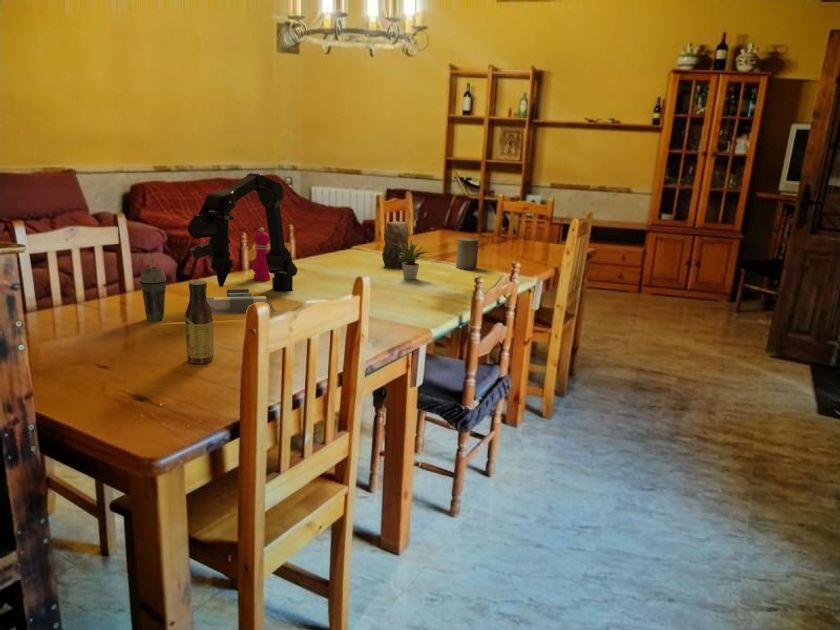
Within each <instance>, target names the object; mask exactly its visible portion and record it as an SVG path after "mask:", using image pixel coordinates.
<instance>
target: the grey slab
mask: <svg viewBox="0 0 840 630" xmlns="http://www.w3.org/2000/svg"><path fill="white" fill-rule="evenodd" d="M250 296H252V293H251V292H250V289H249V288H226V297H249V298H230V309H214V297H207V299H206V301H207V302H208V304H209V305H210V307H211V309H212V315H223V314H225V315H226V314H227V315H229V314H247V313H246V310H247V308H248V306H249V305H251V304H253V297H250ZM265 296H266V295H265ZM266 298H267V303H268V304H269V305H270V309H271V312H270V313H276V310H275V308H274V306H273V304H272V302H271V301H270V299H269V298H268V296H266Z"/></svg>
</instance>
